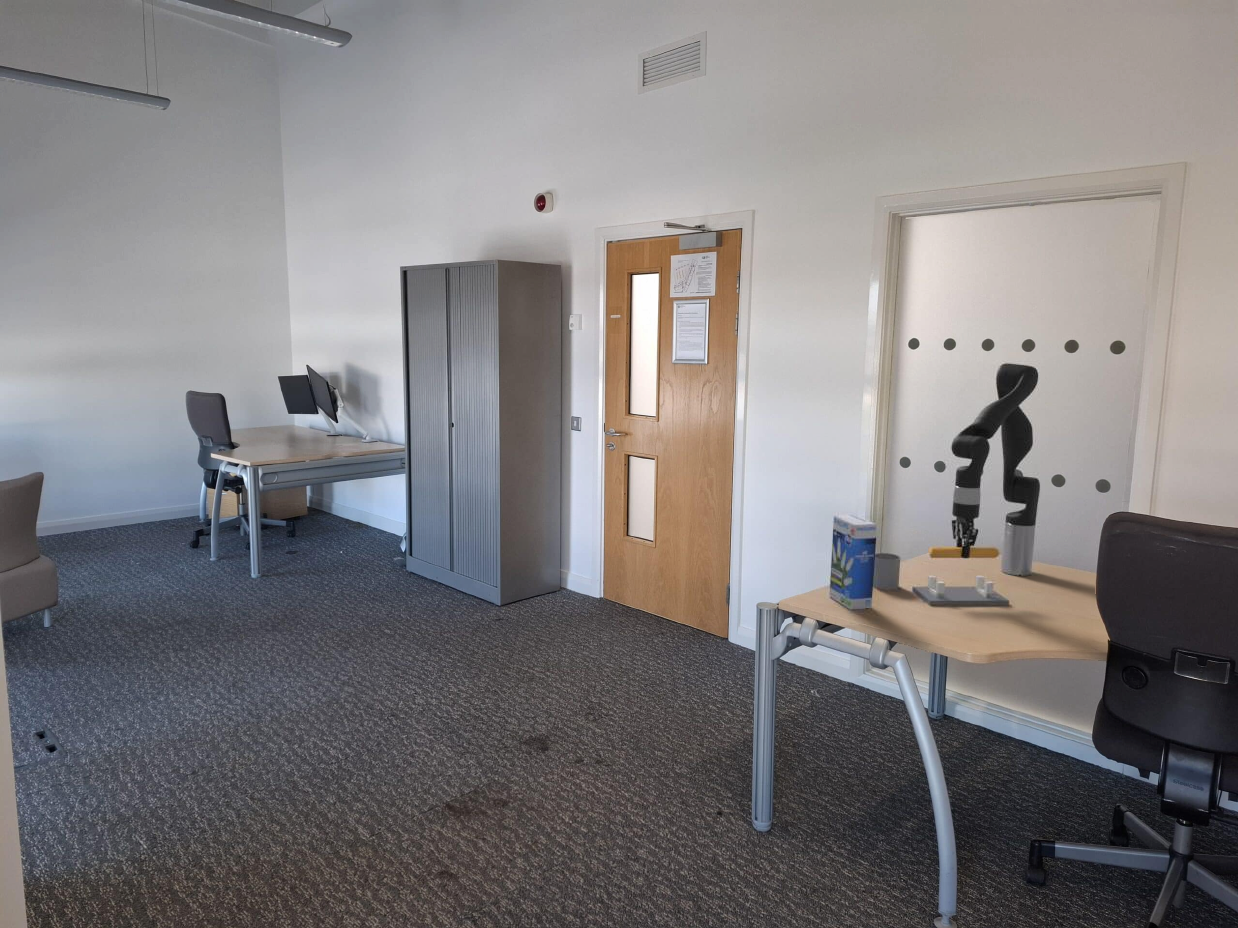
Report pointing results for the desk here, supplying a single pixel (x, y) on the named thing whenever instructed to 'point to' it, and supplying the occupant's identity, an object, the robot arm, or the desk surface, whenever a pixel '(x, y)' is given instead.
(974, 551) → the orange rod
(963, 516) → the robot arm
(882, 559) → the cup
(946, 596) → the board
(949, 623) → the desk surface
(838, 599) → the string lights box
